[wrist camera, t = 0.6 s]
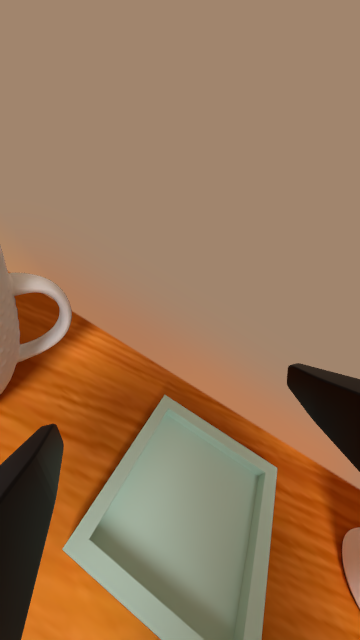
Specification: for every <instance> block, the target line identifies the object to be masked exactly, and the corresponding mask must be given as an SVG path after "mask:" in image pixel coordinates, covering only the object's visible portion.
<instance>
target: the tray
mask: <svg viewBox="0 0 360 640" xmlns="http://www.w3.org/2000/svg"><path fill="white" fill-rule="evenodd" d="M276 478H277V467H275V466H273V465H272V464H270V463H269V462H267V461H266V460H264V459H263V458H261V457H260V456H258V455H257V454H255V453H254V452H252V451H251V450H249V449H247V448H246V447H244V446H243V445H241V444H240V443H238V442H237V441H235V440H234V439H232V438H231V437H229V436H228V435H226V434H225V433H223V432H221V431H220V430H218V429H217V428H215V427H214V426H212V425H211V424H209V423H208V422H206V421H205V420H203V419H202V418H200V417H198V416H197V415H195V414H194V413H192V412H191V411H189V410H188V409H186V408H185V407H183V406H182V405H180V404H179V403H177V402H176V401H174V400H172V399H171V398H169V397H168V396H166V395H164V396H163V398H162V399H161V401H160V403H159V404H158V406H157V407H156V409H155V410H154V412H153V413H152V415H151V416H150V418H149V419H148V421H147V422H146V424H145V425H144V427H143V428H142V430H141V431H140V433H139V434H138V436H137V437H136V439H135V440H134V442H133V443H132V445H131V446H130V448H129V449H128V451H127V452H126V454H125V455H124V457H123V458H122V460H121V461H120V463H119V464H118V466H117V467H116V469H115V470H114V472H113V474H112V475H111V477H110V478H109V480H108V481H107V483H106V484H105V486H104V487H103V489H102V490H101V492H100V493H99V495H98V496H97V498H96V499H95V501H94V502H93V504H92V505H91V507H90V508H89V510H88V511H87V513H86V514H85V516H84V517H83V519H82V520H81V522H80V523H79V525H78V526H77V528H76V529H75V531H74V532H73V534H72V535H71V537H70V538H69V540H68V542H67V543H66V545H65V546H64V548H63V549H62V550H63V551H64V552H65V553H67V554H68V555H69V556H70V557H71V558H72V559H73V560H74V561H75V562H76V563H78V564H79V565H80V566H81V567H82V568H83V569H84V570H85V571H86V572H87V573H89V574H90V575H91V576H92V577H93V578H94V579H95V580H96V581H97V582H98V583H100V584H101V585H102V586H103V587H104V588H105V589H106V590H107V591H108V592H109V593H111V594H112V595H113V596H114V597H115V598H116V599H117V600H118V601H119V602H120V603H122V604H123V605H124V606H125V607H126V608H127V609H128V610H129V611H130V612H131V613H132V614H134V615H135V616H136V617H137V618H138V619H139V620H140V621H141V622H142V623H143V624H145V625H146V626H147V627H148V628H149V629H150V630H151V631H152V632H153V633H154V634H156V635H157V636H158V637H159V638H160V639H161V640H261V639H262V628H263V618H264V607H265V596H266V586H267V575H268V564H269V553H270V543H271V532H272V521H273V511H274V500H275V489H276Z"/></svg>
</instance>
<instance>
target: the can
mask: <svg viewBox="0 0 360 640" xmlns="http://www.w3.org/2000/svg"><path fill="white" fill-rule="evenodd" d="M342 562H343V568H344V572H345V576H346V579H347V582H348V585H349V588H350V590H351V593H352V595H353V597H354V599H355V602H356V603H357V605H358V607H359V609H360V527H358V528H354V529H351V530H349V531H348V532H347V533H346V535H345V537H344V540H343V545H342Z"/></svg>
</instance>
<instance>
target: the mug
mask: <svg viewBox="0 0 360 640" xmlns="http://www.w3.org/2000/svg"><path fill="white" fill-rule="evenodd" d="M32 292H38V293H44V294H47V295H49V296H51V297H52V298H53V299H54V300H55V301H56V302H57V303H58V305H59V309H60V312H59V318H58V320H57V322H56V324H55V325H54V326H53V328H51V329H50V330H49V331H48V332H47V333H45V334H44V335H42V336H41V337H39V338H37V339H35V340H33V341H31V342H28V343H25V344H20V341H19V339H20V330H19V320H18V312H17V310H18V309H17V307H16V301H15V298H14V296H15V295H21V294H25V293H32ZM71 319H72V311H71V306H70V303H69V300H68V298H67V296H66V295H65V293H64V292H63V291H62V289H61V288H60V287H59V286H58V285H56V284H55V283H54V282H52V281H51V280H48V279H46V278H44V277H41V276H38V275H33V274H27V273H8V271H7V268H6V264H5V260H4V256H3V253H2V249H1V246H0V395H1V393H2V392H3V391H4V389H5V388H6V386H7V384H8V383H9V381H10V380H11V377H12V375H13V373H14V370H15V366H16V364H17V362H21V361H23V360H26V359H28V358H30V357H33V356H35V355H37V354H40V353H42V352H44V351H45V350H47V349H49V348H50V347H52V346H54V345H55V344H56V343H58V342H59V341H60V340H61V339H62V338H63V337H64V335H65V334H66V333H67V331H68V329H69V326H70V324H71Z"/></svg>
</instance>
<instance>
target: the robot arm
mask: <svg viewBox="0 0 360 640" xmlns="http://www.w3.org/2000/svg"><path fill="white" fill-rule="evenodd" d="M287 385H288V387H289V389H290V390H291V391H292V393H293V394H294V395H295V397H296V398H297V399H298V401H299V402H300V403H301V405H302V406H303V407H304V408H305V410H306V411H307V413H308V414H309V415H310V417H311V418H312V419H313V420H314V421H315V422H316V424H317V425H318V426H319V427H320V428H321V429H322V430H323V432H324V433H325V434H326V435H327V436H328V437H329V438H330V439H331V441H333V443H334V444H335V445H336V446H337V447H338V448H339V449H340V451H341V452H342V453H343V454H344V455H345V456H346V457H347V458H348V459H349V460H350V462H351V463H352V464H353V465H354V466H355V467H356V468H357V469H358V470H359V472H360V379H357V378H353V377H349V376H345V375H341V374H338V373H334V372H330V371H326V370H322V369H319V368H315V367H311V366H307V365H303V364H299V363H298V364H293V365H290V366H289V367H288V374H287ZM62 455H63V440H62V438H61V435H60V433H59V430H58V427H57V425H56V424H50V425H46V426H42V427H40V428H39V429H38V430H37V431H36V432H35V433H34V434H33V435H32V436H31V437H30V438H29V439H28V440H26V441H25V442H24V443H23V444H22V445H21V446H20V447H19V448H18V449H17V450H16V451H15V452H14V453H13V454H12V455H10V456H9V457H8V458H7V459H6V460H5V461H4V462H3V463H2V464H1V465H0V640H21V637H22V633H23V629H24V625H25V621H26V617H27V613H28V609H29V605H30V601H31V597H32V593H33V589H34V585H35V581H36V577H37V573H38V569H39V565H40V561H41V557H42V553H43V549H44V545H45V541H46V537H47V533H48V529H49V525H50V521H51V517H52V513H53V509H54V505H55V500H56V495H57V489H58V482H59V475H60V468H61V461H62Z"/></svg>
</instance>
